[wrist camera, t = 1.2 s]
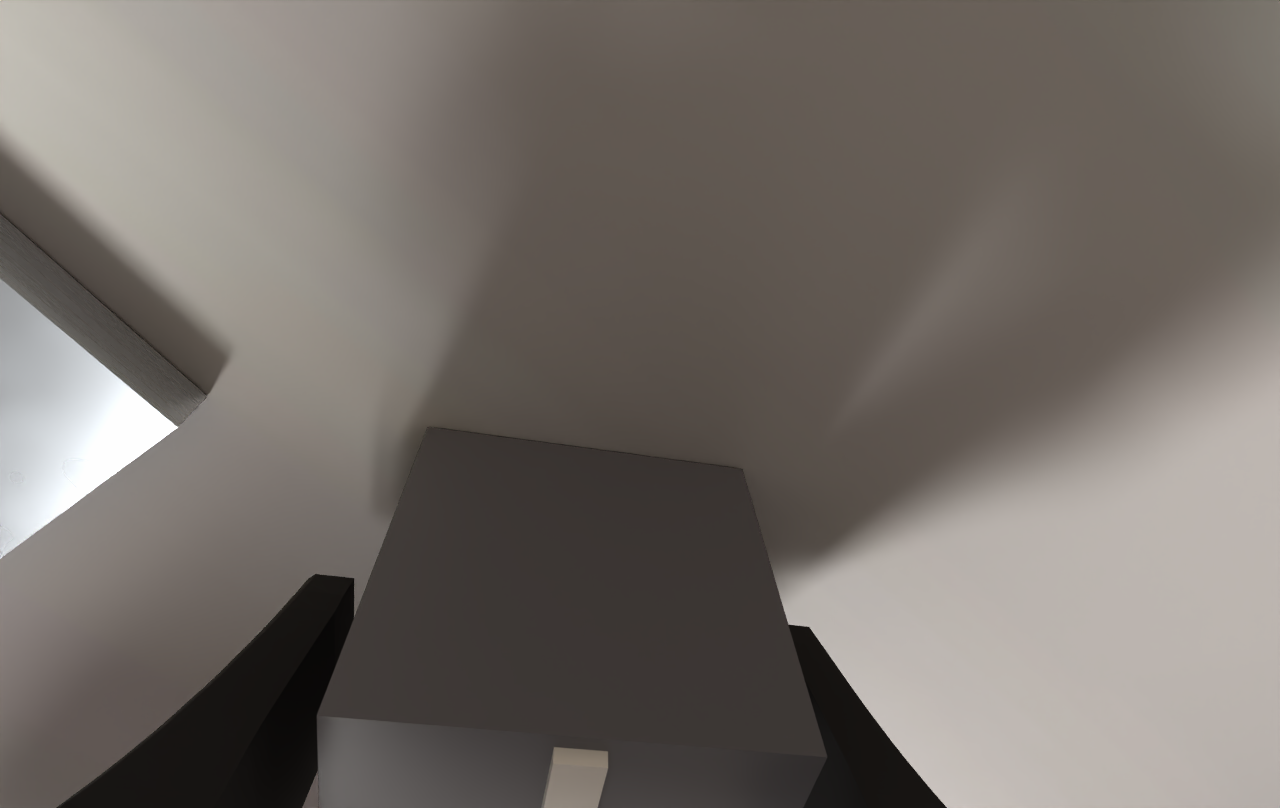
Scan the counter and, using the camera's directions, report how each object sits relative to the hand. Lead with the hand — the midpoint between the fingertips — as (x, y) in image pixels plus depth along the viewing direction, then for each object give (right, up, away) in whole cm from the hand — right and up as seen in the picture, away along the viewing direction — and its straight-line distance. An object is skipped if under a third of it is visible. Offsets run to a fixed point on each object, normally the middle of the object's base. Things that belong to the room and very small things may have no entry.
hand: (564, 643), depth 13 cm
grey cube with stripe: (0, +1, +2) cm, 2 cm away
